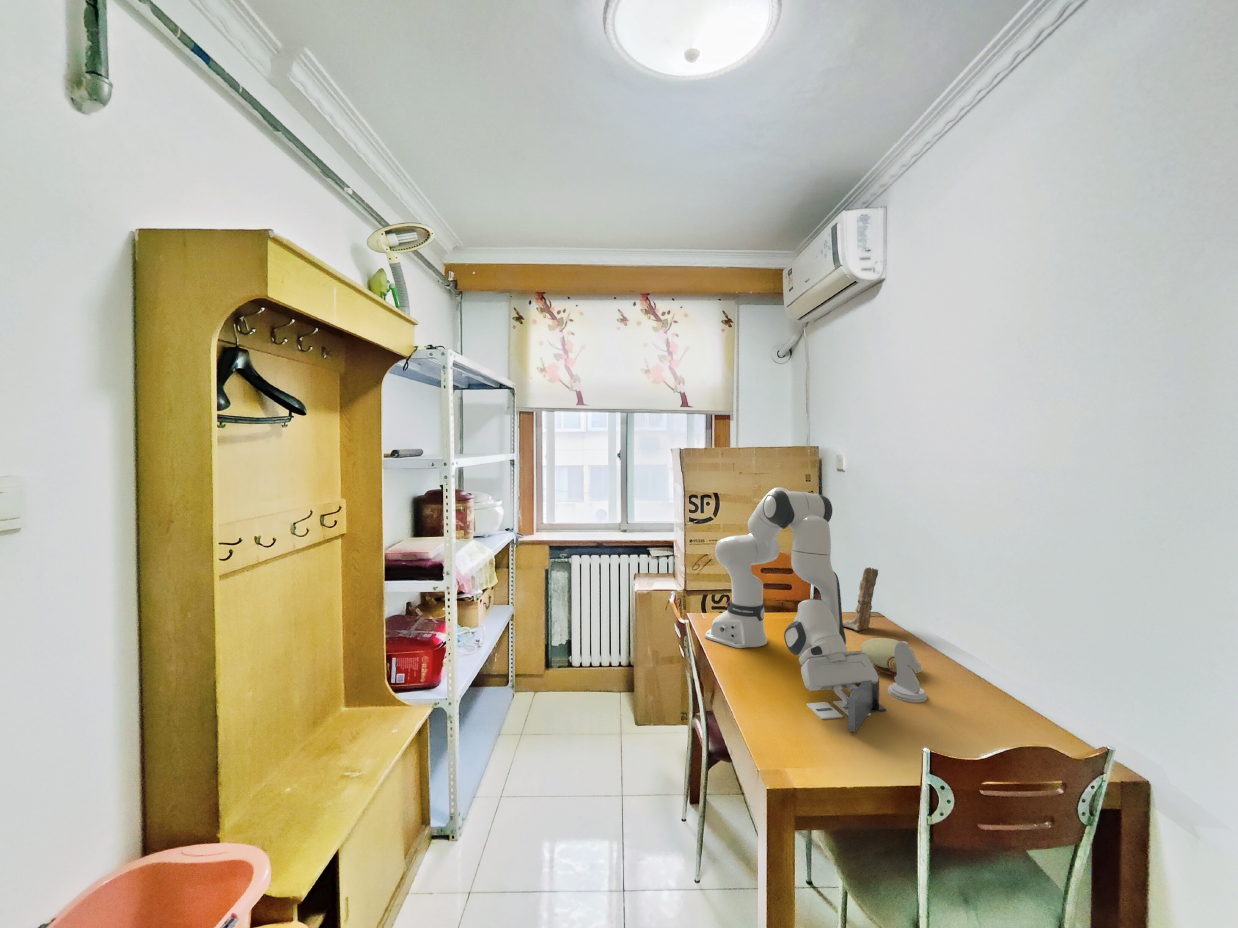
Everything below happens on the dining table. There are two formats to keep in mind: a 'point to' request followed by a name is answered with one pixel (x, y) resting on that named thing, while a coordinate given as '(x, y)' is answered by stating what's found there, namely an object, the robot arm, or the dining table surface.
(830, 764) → the dining table surface
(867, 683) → the grey panel stand
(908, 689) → the chess piece
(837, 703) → the label plate
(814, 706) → the label plate
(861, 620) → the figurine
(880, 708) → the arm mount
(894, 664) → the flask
